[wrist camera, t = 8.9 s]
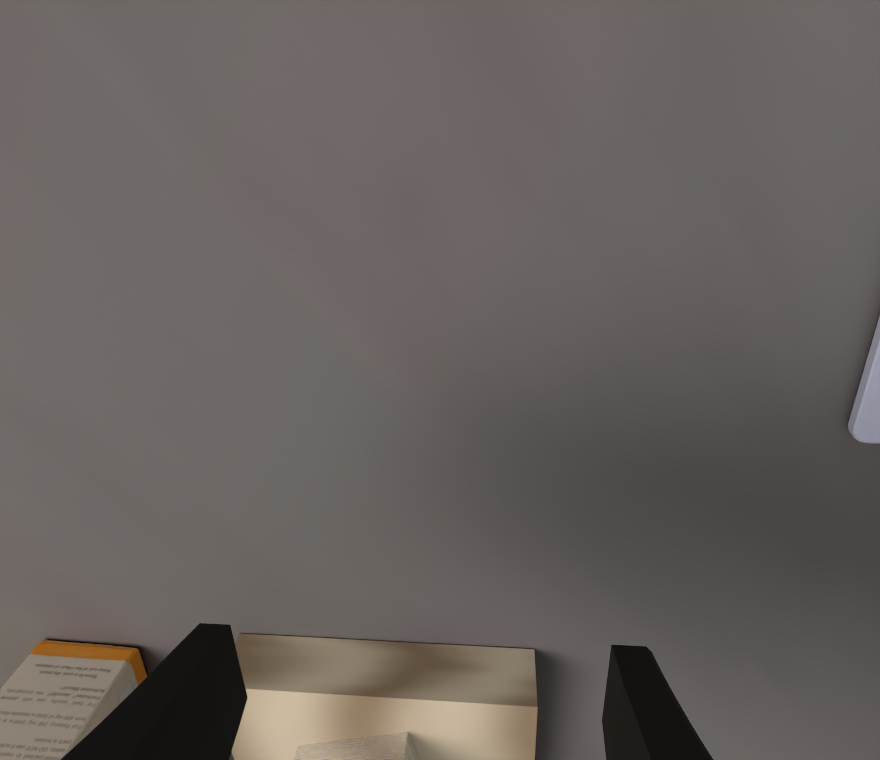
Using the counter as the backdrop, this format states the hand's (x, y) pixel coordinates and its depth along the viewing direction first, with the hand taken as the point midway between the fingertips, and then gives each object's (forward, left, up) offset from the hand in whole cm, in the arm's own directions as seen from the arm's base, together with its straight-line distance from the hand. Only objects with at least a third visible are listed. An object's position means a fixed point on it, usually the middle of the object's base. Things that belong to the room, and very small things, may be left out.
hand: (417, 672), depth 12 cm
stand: (+3, +16, -9) cm, 19 cm away
